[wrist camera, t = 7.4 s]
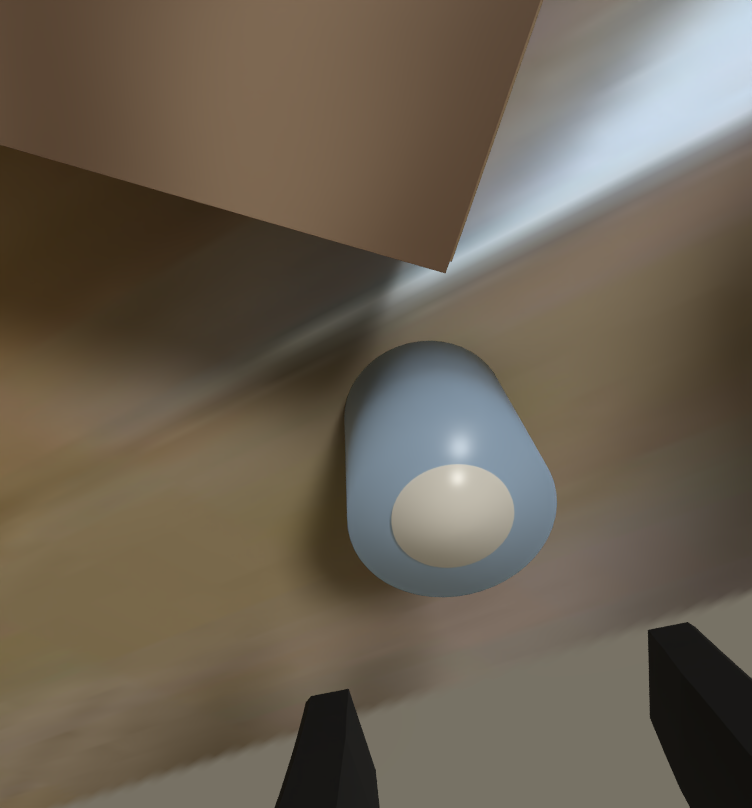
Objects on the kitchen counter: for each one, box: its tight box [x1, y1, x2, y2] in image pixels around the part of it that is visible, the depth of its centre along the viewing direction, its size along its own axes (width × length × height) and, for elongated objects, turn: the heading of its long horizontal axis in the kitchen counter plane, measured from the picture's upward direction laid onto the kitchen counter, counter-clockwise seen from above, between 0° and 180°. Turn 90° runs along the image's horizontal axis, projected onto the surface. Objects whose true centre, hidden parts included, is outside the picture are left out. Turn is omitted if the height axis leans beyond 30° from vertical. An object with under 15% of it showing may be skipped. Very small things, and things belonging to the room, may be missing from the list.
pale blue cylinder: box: [344, 341, 557, 597], centre depth 17 cm, size 5×5×5 cm
